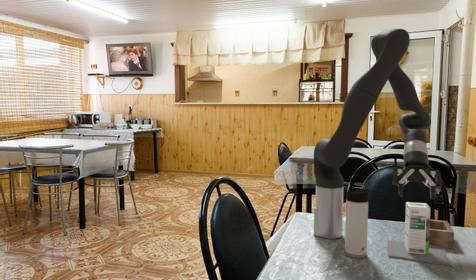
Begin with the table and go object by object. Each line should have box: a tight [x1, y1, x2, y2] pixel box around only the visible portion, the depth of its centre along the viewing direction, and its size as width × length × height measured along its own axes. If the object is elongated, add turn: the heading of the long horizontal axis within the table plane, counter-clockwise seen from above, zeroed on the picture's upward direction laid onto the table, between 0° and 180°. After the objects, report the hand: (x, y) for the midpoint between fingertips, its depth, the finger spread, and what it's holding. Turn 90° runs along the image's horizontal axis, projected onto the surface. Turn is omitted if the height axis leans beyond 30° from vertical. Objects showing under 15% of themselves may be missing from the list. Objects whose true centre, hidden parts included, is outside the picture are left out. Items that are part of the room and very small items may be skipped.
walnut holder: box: [429, 218, 455, 249], centre depth 119 cm, size 12×12×5 cm
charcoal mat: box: [387, 239, 452, 267], centre depth 108 cm, size 16×13×1 cm
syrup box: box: [404, 201, 431, 255], centre depth 108 cm, size 6×6×14 cm
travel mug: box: [344, 188, 371, 259], centre depth 106 cm, size 6×7×20 cm
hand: (416, 197), depth 113 cm, fingers open, 8 cm apart
